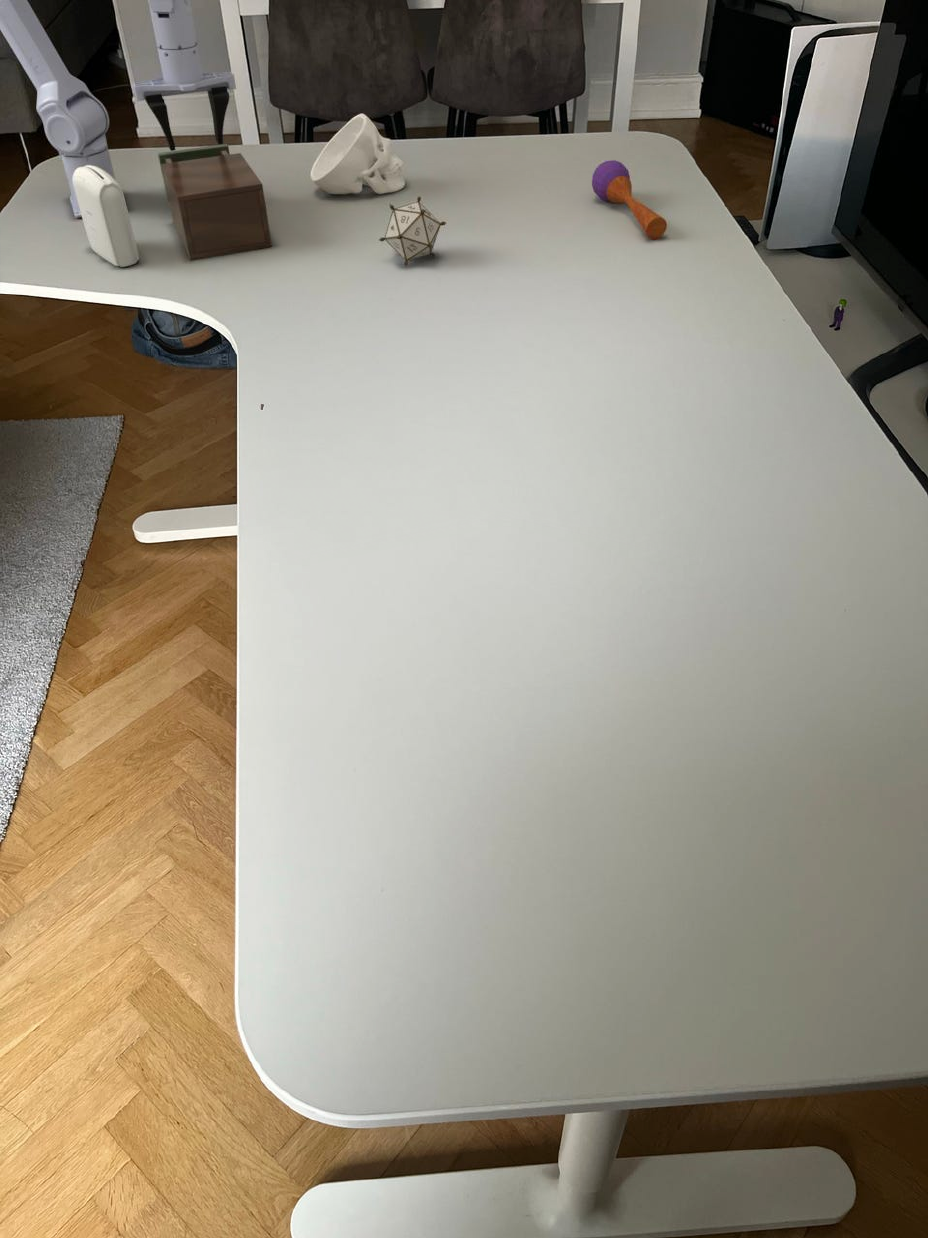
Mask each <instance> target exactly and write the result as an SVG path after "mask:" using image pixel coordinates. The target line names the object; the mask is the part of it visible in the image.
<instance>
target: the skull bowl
mask: <svg viewBox="0 0 928 1238" xmlns="http://www.w3.org/2000/svg"><path fill="white" fill-rule="evenodd" d="M391 143H392V139H390V138H387V137H384V136H382V135H381V134H380V132H379V131H378V128H377V127H376V125H375V123H373V121H372V120H371V119H370V118H369V117H368V116H367V115H366V114H364V113H359V114H357V115H355V116H353V117H352V118H351V119H350V120H349V121H347V123H346V124H345V125H344V126H342V127H341V128H340V129H339V130H338V132H336V133H335V134H334V135H333V136H332V137H331V139H330V140H329V141H328V142H327V143H326V145H325V146H324V148H323V149H322V150H321V152H320V153H319V155H318V156H317V158H316V159H315V161H314V164H313V165H312V167H311V170H310V174H309V175H310V178H311V180H312V182H313V183H314V185H316V186H317V187H318V188H319V189H320V190H322V191H324V192H326V193H327V194H329V195H347V194H360V193H361V192H362V191H363V185H364V186H367V187H370V188H371V190H373V192H375V193H377V194H378V195H382V194H387V193H395V192H398V191H400V190H402V189H403V188H405V186H406V181H405V179H404V178H403V176H402V171H403V169H402V168H403V167H404V162H403V161H402V159H400V157H397V155H395V153H394V152H393V151H390V146H391Z"/></svg>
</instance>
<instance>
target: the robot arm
mask: <svg viewBox="0 0 928 1238" xmlns="http://www.w3.org/2000/svg"><path fill="white" fill-rule="evenodd" d="M147 2H148V7H149V12H150V17H151V23H152V27H153V33H154V38H155V43H156V49H157V53H158V58H159V63H160V68H161V74H162V77H158V78H154V79H149V80H144V81H138V82H132V88H133V92H134V98H135V99H136V101H137V102H140V101H145V102H146V105H147V106H148V107H149V109H150V110H151V112H152V113H153V115H154V117H155V119H156V120H157V122H158V124H159V126H160V127H161V130H162V132H163V134H164V137H165V139H166V142H167V145H168V149H169V150H170V152H171V151H176V145H175V141H174V137H173V133H172V130H171V125H170V119H169V113H168V106H167V104H166V101H165V99H164V98H163V97H171V96H178V95H179V96H180V95H187V94H194V93H195V94H196V93H204V92H207V96H208V100H209V101H208V102H209V105H210V109H211V110H210V111H211V115H212V122H213V132H214V137H215V141H216V143H217V145H222V144H224V125H225V117H226V113H227V109H228V107H229V103H230V93H229V91H228V90H231V91H233V90H236V89H237V86H236V79H235V74H234V73H233V72H232V71H225V72H203V67H202V62H201V56H200V50H199V44H198V40H197V33H196V32H197V31H196V27H195V21H194V15H193V9H192V6H191V5H192V4H191V0H147ZM0 32H1V33H2V35H3V37H4V38H5V39H6V42H7V43H8V44H9V47H10V48H11V49H12V51H13V53H14V55H15V56H16V58H17V60H18V61H19V63H20V64H21V66H22V68H23V70H24V71H25V73H26V74H27V76H28V78H29V79H30V81H31V83H32V84H33V87H34V88H35V90H36V93H37V94H36V107H35V108H36V112H37V114H38V115H39V117H40V119H41V121H42V124H43V128H44V133H45V136H46V138H47V140H48V142H49V143H50V144H51V146H52V147H53V148H54V149H55V150H57V152H58V155H59V156H60V158H61V161H62V165H63V168H64V172H65V176H66V179H67V183H68V187H69V190H70V194H71V195H69V200H70V204H71V208H72V210H73V214H74V217H75V218H77V219H78V218H82V215H81V211H80V208H79V204H78V201H77V197H76V193H75V190H74V186H73V181H72V178H73V174H74V172H75V170H76V169H77V168H79V167H84V166H86V165H92V166H96V167H98V168H100V169H102V170H104V171H105V172H107V173H108V174H109V175H110V176H111V177H112V178H113V179H114V180H115V181H116V182H117V179H116V175H115V171H114V166H113V163H112V158H111V154H110V151H109V146H108V143H107V142H108V141H107V137H106V133H107V132H108V130H109V127H110V117H109V116H110V115H109V113H108V111H107V109H106V107H105V106H104V104H103V102H102V101H100V100H99V99H98V98H97V97H95V96H94V94H92V92H91V91H90V89H89V88H88V86H87V84H86V83H85V82H84V81H82V80H80V79H79V78H77V77H75V76H74V75H72V74H71V73H70V72H69V70H68V68H67V67H66V65H65V63H64V62H63V60H62V58H61V57H60V55H59V53H58V51H57V49H56V48H55V46H54V44H53V43H52V41H51V39H50V37H49V35H48V34H47V32H46V31H45V29H44V27H43V25H42V23H41V22H40V20H39V18H38V17H37V15H36V13H35V11H34V9H33V8H32V6H31V4H30V3H29V1H28V0H0Z"/></svg>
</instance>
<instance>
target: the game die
mask: <svg viewBox="0 0 928 1238" xmlns="http://www.w3.org/2000/svg"><path fill="white" fill-rule="evenodd" d="M416 200H417V201H416V202H412V203H409V204H405V205H402V206H399V207H395V206H394V205H393V204H390V203H389V209H390V210H391V213H390V214H391V215H390V218H389V221H388V224H387V228H386V231H385V235H384V237H383V236H382V237H380V238H379V239H378V241H379V242H384V241H385V242H386V243H387V244H388V245H389V246H390V247H391V248H392V249H393V250H394V251H396V253H397V254H398V255H399V256H400V257H401V258H402V259H403V260H404V263H403V265H404V267H405V268H406V267H407V266H408V265H409V262H410V261H411V260H414V259H415V260H416V259H418V258H420V257H424V256H428V255H430V257H432V258H435V253H434V252H433V250H434V246H435V243H436V240H437V237H438V234H439V231H440V229H441V226H445V225H446V224H447V221H445V220H444V221H441V222H440V221H439V220H438V219H437V218H436V217H435V215H433V214H432V213H431V212H430V211H429V210H428V209H427V208H426V207H425V206H424V205H423V204H422V203H421V201H422V197H421V195H419V196H418V197H417V199H416ZM408 261H409V262H408Z"/></svg>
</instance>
